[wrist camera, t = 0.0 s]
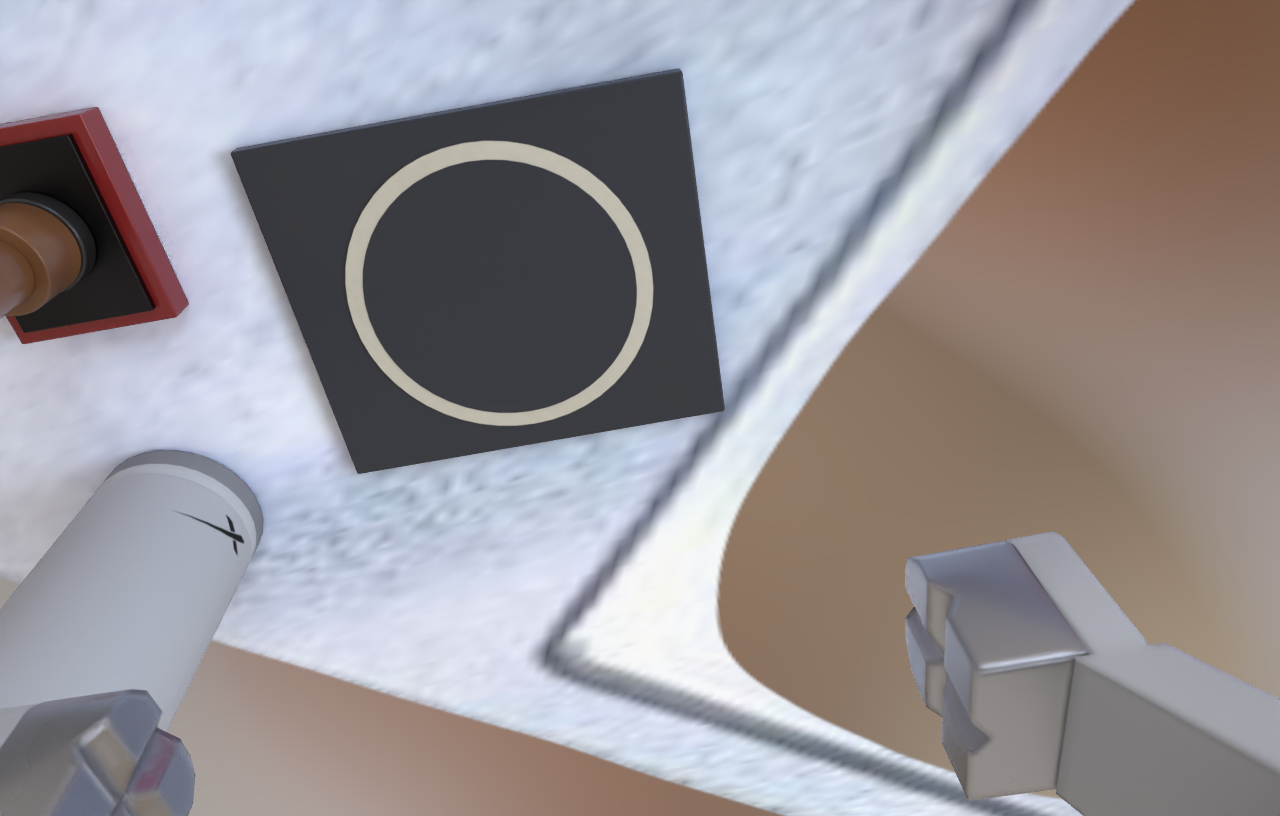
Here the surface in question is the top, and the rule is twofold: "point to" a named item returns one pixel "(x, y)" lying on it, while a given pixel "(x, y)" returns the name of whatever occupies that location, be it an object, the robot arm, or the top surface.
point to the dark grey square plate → (497, 269)
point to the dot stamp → (40, 251)
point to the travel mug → (132, 585)
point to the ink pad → (90, 226)
